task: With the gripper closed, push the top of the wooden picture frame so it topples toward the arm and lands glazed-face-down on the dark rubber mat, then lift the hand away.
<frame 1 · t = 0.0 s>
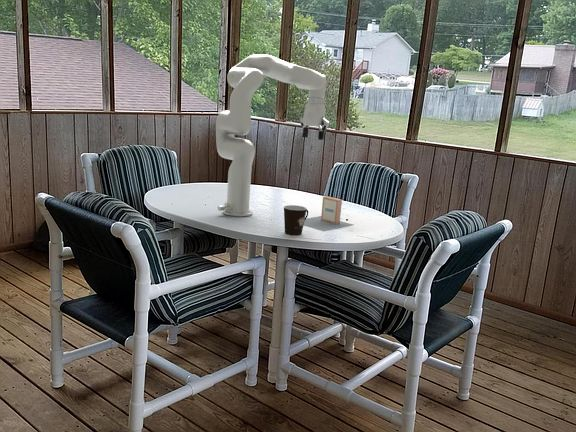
hand: (312, 138, 262), 31 cm above the table, tool pointing down, fingers open, 9 cm apart
coffee mug: (296, 233, 212), on the table
wooden picture frame: (330, 221, 232), point 1 cm above the table, touching mat
mat: (322, 224, 229), on the table
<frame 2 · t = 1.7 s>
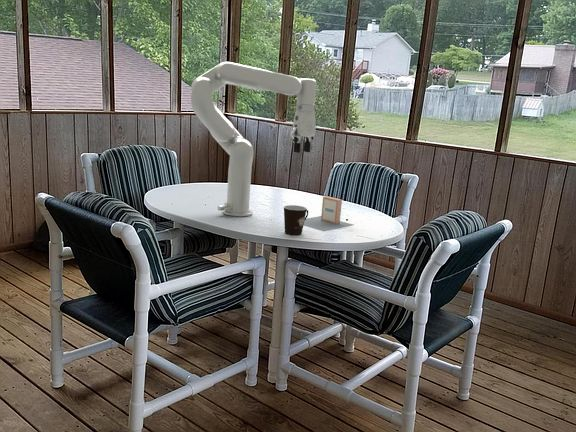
hand: (301, 151, 237), 27 cm above the table, tool pointing down, fingers open, 5 cm apart
nothing on the table moved.
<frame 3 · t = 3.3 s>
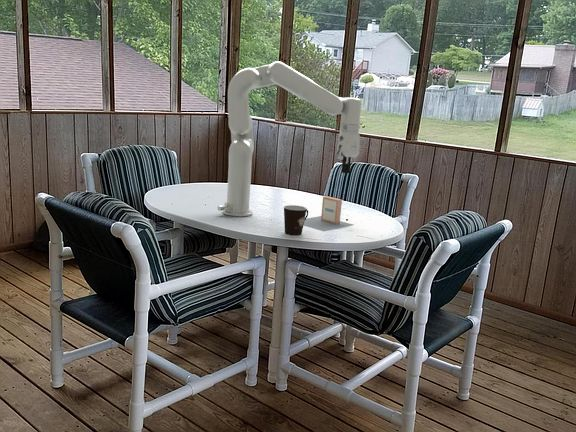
hand: (345, 172, 233), 21 cm above the table, tool pointing down, fingers closed
nothing on the table moved.
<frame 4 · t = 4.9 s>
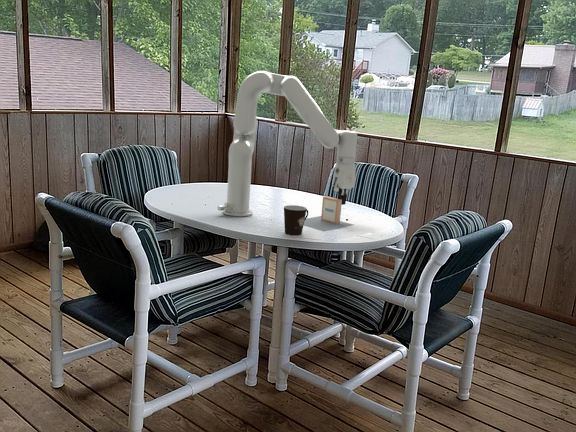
hand: (341, 203, 235), 8 cm above the table, tool pointing down, fingers closed
nothing on the table moved.
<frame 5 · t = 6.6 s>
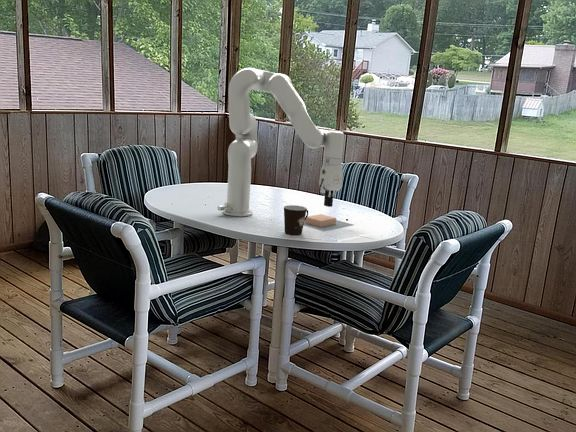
hand: (328, 206, 229), 8 cm above the table, tool pointing down, fingers closed
wooden picture frame: (328, 219, 231), point 2 cm above the table, tilted 90°, touching mat
everything else where it was.
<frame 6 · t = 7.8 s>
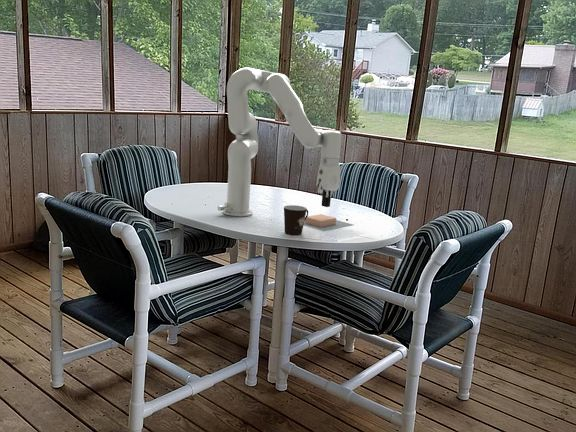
hand: (325, 206, 228), 8 cm above the table, tool pointing down, fingers closed
nothing on the table moved.
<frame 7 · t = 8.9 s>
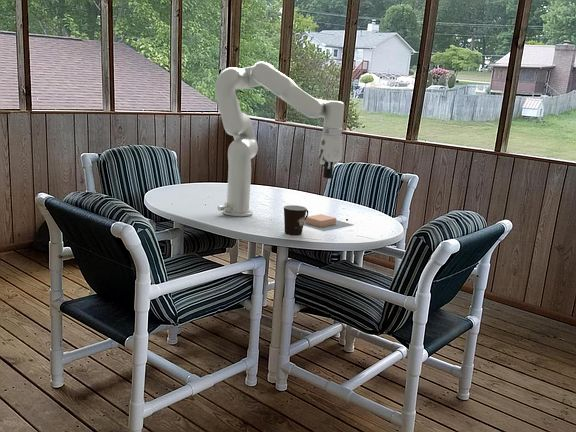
hand: (327, 177, 226), 19 cm above the table, tool pointing down, fingers closed
nothing on the table moved.
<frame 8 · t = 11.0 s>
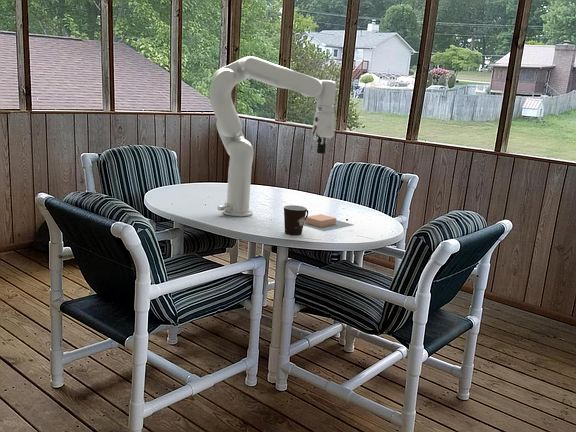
hand: (320, 153, 240), 27 cm above the table, tool pointing down, fingers closed
nothing on the table moved.
at the end: wooden picture frame tilted 90°; wooden picture frame inside the target area on the mat (3.6 cm from its centre), point 1.9 cm above the mat's base; wooden picture frame touching mat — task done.
